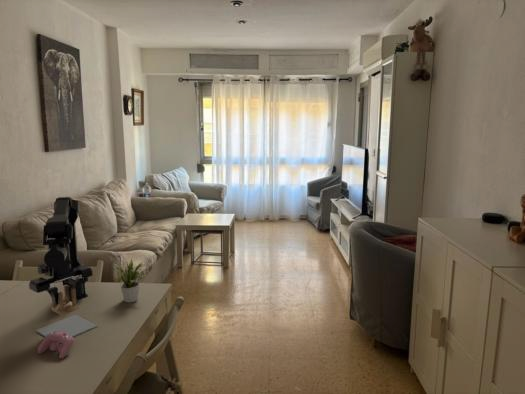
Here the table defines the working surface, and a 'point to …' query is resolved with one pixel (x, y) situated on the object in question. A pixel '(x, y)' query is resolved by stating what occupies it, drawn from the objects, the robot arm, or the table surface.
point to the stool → (67, 305)
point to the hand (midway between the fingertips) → (64, 302)
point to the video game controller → (53, 341)
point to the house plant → (130, 282)
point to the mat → (68, 326)
